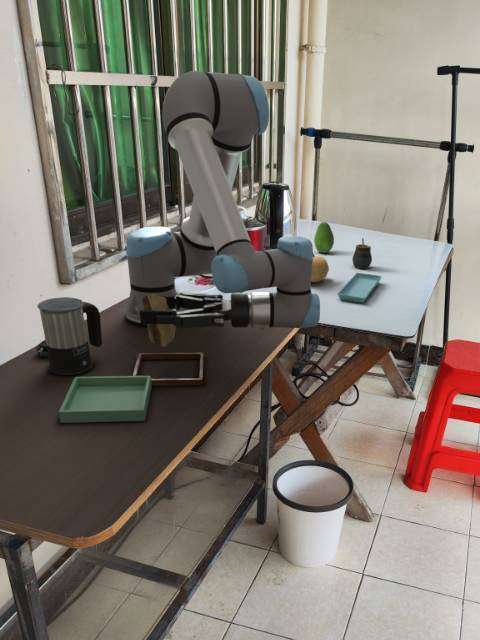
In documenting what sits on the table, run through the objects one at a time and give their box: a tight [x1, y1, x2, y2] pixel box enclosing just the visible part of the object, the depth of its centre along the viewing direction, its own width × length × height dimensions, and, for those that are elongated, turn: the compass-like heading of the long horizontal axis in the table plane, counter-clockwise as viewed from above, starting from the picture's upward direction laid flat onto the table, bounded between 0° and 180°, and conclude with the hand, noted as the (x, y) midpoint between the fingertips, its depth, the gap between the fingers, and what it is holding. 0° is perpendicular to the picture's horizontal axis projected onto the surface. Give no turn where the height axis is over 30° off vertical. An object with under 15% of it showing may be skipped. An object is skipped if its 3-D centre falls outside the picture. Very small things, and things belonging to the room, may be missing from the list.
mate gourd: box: [351, 237, 373, 270], centre depth 220 cm, size 7×8×10 cm
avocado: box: [314, 221, 335, 254], centre depth 235 cm, size 8×8×12 cm
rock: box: [142, 294, 177, 348], centre depth 128 cm, size 11×9×10 cm
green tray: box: [58, 375, 153, 424], centre depth 118 cm, size 15×15×2 cm
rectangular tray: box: [337, 272, 383, 304], centre depth 195 cm, size 26×9×2 cm, turn 163°
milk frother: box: [36, 296, 103, 376], centre depth 131 cm, size 14×16×15 cm
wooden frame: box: [132, 352, 205, 387], centre depth 133 cm, size 15×15×1 cm
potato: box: [311, 255, 330, 283], centre depth 201 cm, size 10×14×8 cm
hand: (142, 309), depth 125 cm, fingers closed on rock, 9 cm apart
